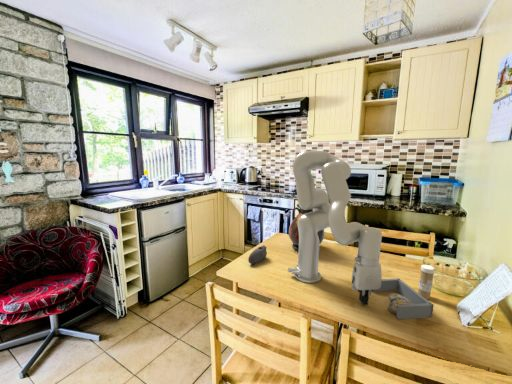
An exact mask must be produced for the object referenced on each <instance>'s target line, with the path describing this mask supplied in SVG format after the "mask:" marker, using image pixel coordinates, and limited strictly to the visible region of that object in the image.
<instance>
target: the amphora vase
mask: <svg viewBox="0 0 512 384" xmlns="http://www.w3.org/2000/svg"><path fill="white" fill-rule="evenodd" d="M296 211H297V212H298V214H297V215H295V214H296ZM309 212H313V209H310V210H303V209H301V208H300V206H299V204H298V203H297V204H296V207H294V208H293V209H292V213H291V223H290V225H289V227H288V237H289V239H290V241H291V243H292V244H291V246H292V249H293V250H295V251H296V252H298V253H299V231H298V219H299V218H300V217H301V216H302V215H303V214H306V213H309ZM317 235H318V237H319V242H320V244H319V245H321V244H322V243H323V240H324V239H325V229H323V230H320V231H318V232H317Z"/></svg>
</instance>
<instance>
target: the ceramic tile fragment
mask: <svg viewBox="0 0 512 384" xmlns="http://www.w3.org/2000/svg"><path fill="white" fill-rule="evenodd" d="M387 296H388V298H389V304H388V307H387V310H388V311H389V312H391V313H393V314H397V306H398V305H404V304H412V303H411V302H410V301H409V300H408V299H407V298H405V297H404V296H403V295H402V294H400V293H399V292H398V293H394V292H393V293H388V294H387Z"/></svg>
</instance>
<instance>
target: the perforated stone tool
mask: <svg viewBox="0 0 512 384" xmlns="http://www.w3.org/2000/svg"><path fill="white" fill-rule="evenodd" d="M267 252H268V251H267V246H266V245H261V246H259V247H256V248H255V249H253V251H252V252H251V253H250V254H249V256H248V263H249V264H251V265H253V264H254V265H255V264H256V263H260V262H261V261H262V260H264V259H265V258H266V257H267V255H268V253H267Z"/></svg>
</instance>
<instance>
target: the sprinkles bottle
mask: <svg viewBox="0 0 512 384" xmlns="http://www.w3.org/2000/svg"><path fill="white" fill-rule="evenodd" d="M435 271H436V269H435V267H434V266H432V265H429V264H421V265H420V277H419V283H418V290H417V293H419V294H420V295H421V296H423V297H424V298H425V299H427V300H430V299H431V292H432V288H433V282H434V274H435Z"/></svg>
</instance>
